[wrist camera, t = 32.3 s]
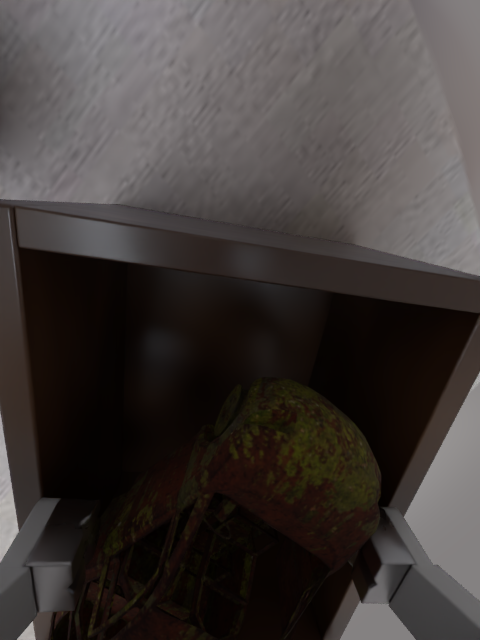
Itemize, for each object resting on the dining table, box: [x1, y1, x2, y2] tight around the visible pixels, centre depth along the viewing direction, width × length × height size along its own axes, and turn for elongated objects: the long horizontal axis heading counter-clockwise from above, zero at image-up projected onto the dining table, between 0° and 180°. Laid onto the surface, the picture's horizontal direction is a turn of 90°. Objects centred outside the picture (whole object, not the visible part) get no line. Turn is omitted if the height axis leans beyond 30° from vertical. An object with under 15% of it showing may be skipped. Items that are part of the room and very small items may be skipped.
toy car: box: [48, 377, 381, 640], centre depth 9 cm, size 12×7×5 cm, turn 139°
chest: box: [0, 199, 480, 640], centre depth 13 cm, size 17×12×9 cm
